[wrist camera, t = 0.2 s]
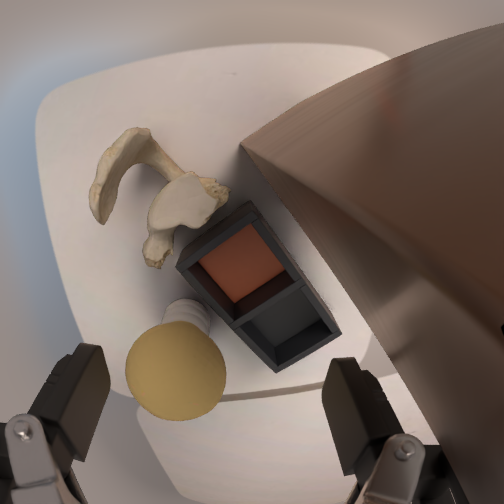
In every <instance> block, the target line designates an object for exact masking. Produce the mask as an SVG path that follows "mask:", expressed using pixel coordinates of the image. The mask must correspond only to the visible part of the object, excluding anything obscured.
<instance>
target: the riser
mask: <svg viewBox="0 0 504 504" xmlns="http://www.w3.org/2000/svg"><path fill="white" fill-rule="evenodd" d="M240 144H241V145H242V147H243V148H244V149H245V151H246V152H247V153H248V155H249V156H250V158H251V159H252V160H253V162H254V163H255V164H256V166H257V167H258V168H259V170H260V171H261V173H262V174H263V175H264V177H265V178H266V179H267V181H268V182H269V184H270V185H271V186H272V188H273V189H274V191H275V192H276V193H277V195H278V196H279V198H280V199H281V201H282V202H283V203H284V205H285V206H286V208H287V209H288V210H289V212H290V213H291V214H292V216H293V217H294V218H295V220H296V221H297V222H298V224H299V225H300V227H301V228H302V229H303V231H304V232H305V233H306V235H307V236H308V238H309V239H310V240H311V242H312V243H313V245H314V246H315V247H316V249H317V250H318V252H319V253H320V254H321V256H322V257H323V259H324V260H325V262H326V263H327V264H328V266H329V267H330V269H331V270H332V272H333V273H334V275H335V276H336V277H337V279H338V280H339V282H340V283H341V285H342V286H343V288H344V289H345V291H346V292H347V294H348V295H349V297H350V298H351V300H352V301H353V303H354V304H355V306H356V307H357V309H358V310H359V312H360V313H361V315H362V316H363V318H364V319H365V321H366V322H367V324H368V325H369V327H370V328H371V330H372V332H373V333H374V335H375V336H376V338H377V339H378V341H379V342H380V344H381V346H382V347H383V349H384V350H385V352H386V353H387V355H388V357H389V358H390V360H391V361H392V363H393V365H394V367H395V368H396V370H397V371H398V373H399V375H400V376H401V378H402V380H403V381H404V383H405V385H406V386H407V388H408V390H409V391H410V393H411V395H412V396H413V398H414V400H415V402H416V403H417V405H418V407H419V409H420V410H421V412H422V414H423V415H424V417H425V419H426V421H427V423H428V424H429V426H430V428H431V430H432V431H433V433H434V435H435V437H436V439H437V441H438V442H439V444H440V446H441V448H442V450H443V452H444V454H445V455H446V457H447V459H448V461H449V463H450V465H451V467H452V469H453V471H454V473H455V475H456V477H457V479H458V481H459V483H460V485H461V487H462V489H463V491H464V493H465V495H466V497H467V499H468V501H469V503H470V504H504V23H501V24H497V25H493V26H489V27H485V28H481V29H477V30H474V31H470V32H467V33H464V34H460V35H457V36H454V37H451V38H448V39H445V40H442V41H439V42H436V43H433V44H430V45H427V46H424V47H422V48H419V49H416V50H414V51H411V52H409V53H406V54H403V55H401V56H398V57H396V58H393V59H391V60H388V61H386V62H384V63H381V64H379V65H376V66H374V67H372V68H370V69H367V70H365V71H363V72H361V73H358V74H356V75H354V76H352V77H350V78H348V79H345V80H343V81H341V82H339V83H337V84H335V85H333V86H331V87H329V88H327V89H325V90H323V91H321V92H319V93H317V94H315V95H313V96H311V97H309V98H307V99H305V100H304V101H302V102H300V103H299V104H297V105H296V106H294V107H292V108H291V109H289V110H288V111H286V112H285V113H283V114H282V115H280V116H278V117H277V118H275V119H274V120H272V121H271V122H269V123H268V124H266V125H265V126H263V127H262V128H261V129H259V130H258V131H256V132H255V133H253V134H252V135H250V136H249V137H247V138H246V139H245V140H243V141H242V142H240Z"/></svg>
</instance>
